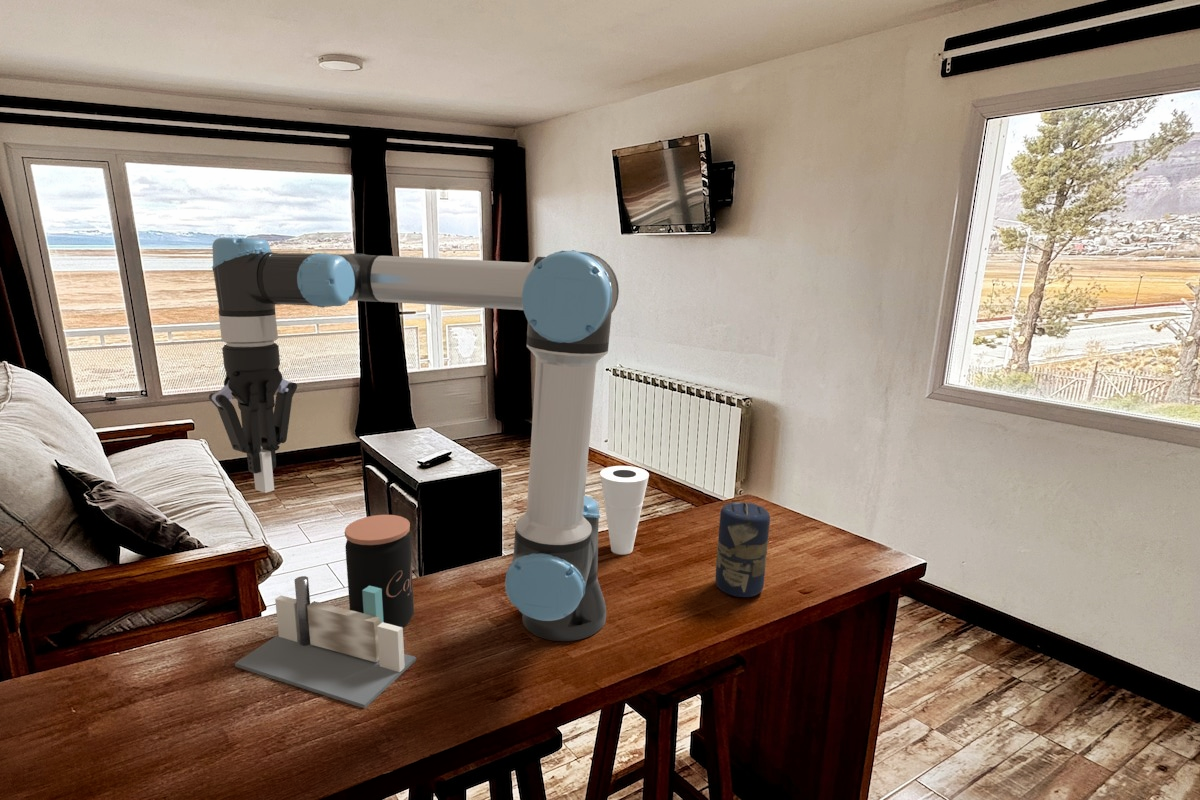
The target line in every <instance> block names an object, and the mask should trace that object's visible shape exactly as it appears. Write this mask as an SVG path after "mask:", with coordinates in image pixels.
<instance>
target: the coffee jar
mask: <svg viewBox="0 0 1200 800" xmlns="http://www.w3.org/2000/svg"><path fill="white" fill-rule="evenodd" d="M410 527H411V523H410V521H409V520H408V519H407V518H405V517H403V516H400V515H395V514H377V515H370V516H364V517H362V518H359V519H355V521H352V522H351V523H349V524H348V525H347V526H346V527H345V530H344V538H346V543H345V560H346V561H345V562H346V563H345V564H346V575H347V589H348V591H347V592H348V603H349V605H348V606H349V610H352V611H356V612H360V613H364V609H363V594H362V590H364V589H365V588H366V587H368V586H373V587H377V588H381V589H382V604H383V622H384V623H387V624H391V625H395V626H399V627H402V628H403V629H404V628H405V627H406V626H408V624H409V622H410V621H411V619H412V618H413V616H414V614H415V612H414V611H415V606H414V603H415V602H414V585H413V584H414V583H413V581H414V580H413V560H412V558H413V557H412V540H411V539H412V538H411V537H412V536H411V534H410V533H409V532H410V530H411V529H410Z"/></svg>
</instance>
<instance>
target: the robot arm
mask: <svg viewBox="0 0 1200 800" xmlns="http://www.w3.org/2000/svg"><path fill="white" fill-rule="evenodd" d="M211 247H212V267H211V268H212V271H213V278H214V283H215V290H216V296H217V297H216V298H217V304H218V318H219V319H218V320H219V329H220V339H221V341H222V342H223V343H225V345H223V347H222V348H221V350H222V358H223V367H224V371H225V373H226V375H225V379H224V381H223V387H222V388H221V389H219V390H218V391H217V392H216V393H215V392H212V393H210V394H209V396H208V399H209V401H210V402H211V403H212V404H213V405H214V406H215V407H216V409H217V411H218V414H219V416H220V419H221V421H222V424H223V427H224V429H225V432H226V434H227V437H228V440H229V442H230V444H231V447H232V449H233V450H234V451H237V452H240V453H244V454H246V459H247V468H248V471H249V473H252V474H253V480H254V490H255V491H259V492H262V493H265V494H267V493H270V492H273V491H275V482H274V473H273V471H274V469H276V467H277V455H276V451H278V450H279V449H280V444H285V443H286V442H287V437H288V432H289V425H290V418H291V409H292V403H293V397H294V395H295V393H296V391H297V389H298V384H297V383H296V382H293V381H292V382H291V381H288V380H287V379H284V378H283V374H282V372H281V371H280V368H279V367H280V366H281V356H280V350H279V349H280V348H279V344H277V343H276V341H277V340H278V338H279V335H278V332H279V331H278V323H277V317H276V305H290V306H292V305H293V306H306V307H307V306H309V307H318V308H323V309H324V308H326V307H342V306H345V305H347V304H348V302H351V301H355V302H357V301H359V302H375V303H377V302H381V303H383V302H384V303H402V304H413V305H414V304H417V305H431V306H449V307H452V306H453V307H465V308H468V307H469V308H485V309H501V310H515V311H516V310H518V311H523V313H524V315H525V318H526V320H527V331H526V348H527V349H528V350H529V351H530V352H531V354H533V356H535V377H534V389H533V391H534V392H533V394H534V395H533V407H532V409H533V410H532V421H531V422H532V423H531V437H530V455H529V468H528V469H529V470H528V480H527V481H528V482H527V484H528V486H527V496H526V497H527V498H526V512H525V513H524V514H522V515H521V516H520V517H518V518H517V520H516V523H515V525H514V526H515V528H514V539H513V540H514V543H513V556H512V562H511V563H510V564H509V566H508V568H507V571H506V573H505V581H504V587H505V592H506V596H507V598H508V599H509V601H510V603H511V604H512V606H514V607H516V609H518V611H519V612H520V613H521V615H522V616H521V617H522V624H523V625H524V627H525V628H526V629H527V631H529V632H530V633H531V634H533V635H534V636H536V637H539V638H541V639H545V640H548V641H554V642H572V641H573V642H574V641H579V640H583V639H586V638H589V637H591V636H593V635H595V634H596V633H598V632H599V631H601V629H602V628H603V627H604V625H605V624H606V621H607V606H606V601H605V598H604V594H603V591H602V589H601V585H600V583H599V580H598V562H599V556H598V555H599V519H600V518H601V514H600V511H599V510H600V507H599V504H598V503H599V502H598V501H597V500H595V499H594V498H593V497H591V496H588V495H586V485H587V484H586V483H587V476H588V475H587V474H588V473H587V471H588V463H589V450H590V440H591V439H590V438H591V428H592V415H593V406H594V405H593V403H594V396H595V395H594V393H595V382H596V371H597V364H598V362H599V361H600V360H601V359H602V358H604V357H605V356H606V355H607V354H608V353H609V347H610V345H609V343H610V336H611V335H610V334H611V324H612V323H611V322H612V314H613V312H614V310H615V308H616V306H617V304H618V301H619V293H620V289H619V282H618V279H617V276H616V273H615V271H614V269H613V268H612V267H611V266H610V264H609V263H608V262H607V261H606V260H604V259H603V258H602V257H600V256H598V255H596V254H593V253H590V252H586V251H585V252H584V251H578V250H560V251H557V252H556V251H555V252H554V253H551V254H548V255H547V256H535V257H534V258H533V259H532V260H530V262H527V261H526V262H522V261H505V260H504V261H503V260H500V261H499V260H483V259H482V260H481V259H480V260H479V259H461V258H460V259H458V258H457V259H456V258H441V257H440V258H437V257H420V256H419V257H418V256H417V257H414V256H399V255H398V256H395V255H393V256H392V255H374V254H373V255H371V254H365V253H347V254H344V253H343V254H341V253H340V254H336V253H326V252H325V253H322V252H321V253H320V252H318V253H317V252H315V253H302V252H301V253H299V252H298V253H297V252H296V253H290V252H289V253H287V252H285V253H282V252H281V253H278V252H272V250H271V246H270V243H269V242H268V241H267V239H265V238H247V237H246V238H244V237H243V238H242V237H241V238H239V237H238V238H237V237H236V238H235V237H219V238H216V239H215V240H213V243H212V246H211ZM275 394H276V396H275ZM232 396H233V397H234V398H235V400H236V401H237V406H238V410H239V411H240V418H241V422H240V418H239V416H238V414H237V411H236V407H235V406H234V404H233V403H232V402H233V401H234V400H233V397H232Z"/></svg>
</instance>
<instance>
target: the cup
mask: <svg viewBox="0 0 1200 800" xmlns="http://www.w3.org/2000/svg"><path fill="white" fill-rule="evenodd" d="M599 475H600V481H601V482H600V483H601V490H602V496H603V499H604V500H603V501H604V502H603V503H604V508H605V509H604V510H605V515H606V522H607V523H606V524H607V529H608V536H609V543H610V551H611V552H612V553H613V554H616V555H620V556H623V555H629V554H631V553H632V552H633V550H634V545H635V540H636V535H637V531H638V526H639V523H640V518H641V513H642V508H643V505H644V499H645V495H646V490H647V486H648V482H649V477H650V473H649V472H648V471H647V470H645V469H644V468H641V467H637V466H632V465H631V466H630V465H615V466H607V467H606V468H603V469H601V470H600V472H599Z"/></svg>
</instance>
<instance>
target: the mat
mask: <svg viewBox="0 0 1200 800" xmlns="http://www.w3.org/2000/svg"><path fill="white" fill-rule="evenodd" d="M416 661H417V656H414V655H410V654H407V653H404V664H405V668H404V669H403V670H402V671H401V672H398V671H394V670H391V669H387V668H384V667H381V666H380V664H379V661H378V662H373V661H369V660H365V659H362V658H358V657H354V656H351V655H347V654H344V653H340V652H336V651H333V650H329V649H325V648H322V647H318V646H315V645H311V644H310V645H306V646H303V645H301V644H300V641H298V642H295V641H292V640H289V639H285V638H282V637H279V633H278V634H277V635H275V636H274V637H272V638H271V639H269V640H267V641H266V642H264V643H263V644H262V645H260V646H258V647H257V648H256V649H254V650H253V651H251V652H249V653H248V654H246V655H244V656H243V657H242V658H240V659H239V660H237V661H236V662H234V666H235V668H239V669H242V670H244V671H248V672H251V673H255V674H256V675H257V674H258V675H260V676H263V677H267V678H270V679H272V680H275V681H279V682H282V683H285V684H288V685H292V686H295V687H297V688H301V689H304V690H307V691H309V692H313V693H315V694H316V693H317V694H318V695H322V696H324V697H325V696H326V697H328V698H331V699H334V700H338V701H341V702H344V703H346V704H350V705H353V706H356V707H359V708H363V709H366V708H367V707H369V705H370V704H371V703H373V702H374V701H375V700H376V699H377V698H378V697H379V696H380V695H381V694H382V693H383V692H384V691H385V690H387V688H388V687H390V685H392V684H393V683H394V682H395V681H396V680H397V679H398V678H399V677H400V676H402V674H404V672H406V670H408V669H409V668H410V667H411V666H412V665H413V664H414V663H415V662H416Z"/></svg>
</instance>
